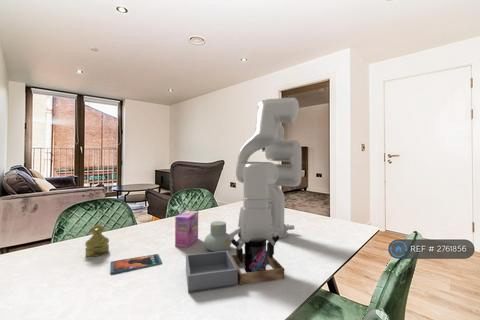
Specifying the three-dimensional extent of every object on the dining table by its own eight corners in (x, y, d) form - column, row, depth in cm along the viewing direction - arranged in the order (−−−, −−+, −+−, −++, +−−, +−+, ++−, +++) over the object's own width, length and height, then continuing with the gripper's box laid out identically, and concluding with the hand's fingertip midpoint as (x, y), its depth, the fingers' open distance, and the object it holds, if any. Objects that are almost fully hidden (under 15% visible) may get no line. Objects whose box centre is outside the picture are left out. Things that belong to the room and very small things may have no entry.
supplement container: (243, 276, 70) (243, 241, 70) (244, 265, 76) (244, 233, 76) (266, 277, 69) (266, 241, 69) (265, 266, 76) (265, 234, 76)
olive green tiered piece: (113, 250, 88) (113, 223, 88) (95, 258, 81) (95, 229, 81) (99, 247, 90) (98, 221, 90) (80, 255, 83) (79, 227, 83)
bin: (227, 264, 77) (227, 250, 77) (237, 285, 65) (237, 269, 64) (185, 269, 74) (185, 254, 74) (188, 293, 61) (188, 275, 61)
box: (188, 248, 91) (188, 217, 90) (174, 246, 92) (174, 216, 91) (198, 238, 101) (198, 211, 100) (186, 237, 102) (186, 210, 102)
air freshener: (222, 256, 83) (222, 228, 83) (201, 253, 86) (201, 226, 86) (233, 245, 93) (233, 220, 93) (214, 242, 96) (214, 218, 96)
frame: (267, 259, 81) (267, 250, 81) (284, 278, 68) (284, 268, 68) (229, 263, 77) (229, 254, 77) (240, 285, 65) (240, 274, 65)
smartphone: (162, 262, 77) (110, 272, 70) (162, 267, 77) (110, 276, 70) (158, 252, 84) (110, 260, 77) (158, 256, 84) (110, 264, 77)
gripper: (276, 199, 78) (276, 251, 79) (225, 202, 74) (225, 256, 74) (286, 204, 71) (286, 260, 72) (231, 207, 66) (230, 267, 67)
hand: (255, 258), depth 73 cm, fingers open, 9 cm apart
